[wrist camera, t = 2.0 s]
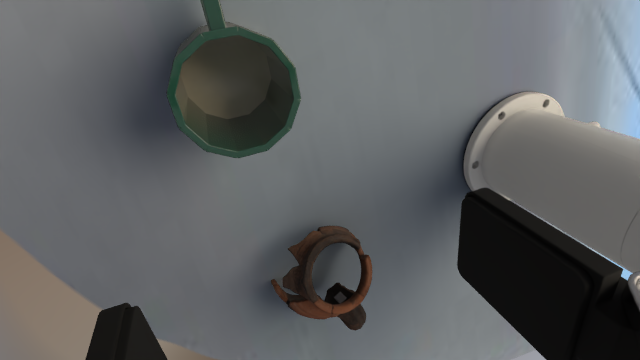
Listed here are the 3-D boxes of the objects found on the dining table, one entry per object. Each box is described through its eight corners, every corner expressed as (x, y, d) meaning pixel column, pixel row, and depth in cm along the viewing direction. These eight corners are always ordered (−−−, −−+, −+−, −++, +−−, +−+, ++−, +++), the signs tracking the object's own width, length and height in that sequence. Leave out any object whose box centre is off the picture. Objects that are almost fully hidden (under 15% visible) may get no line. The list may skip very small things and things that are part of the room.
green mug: (282, 109, 30) (308, 140, 23) (193, 130, 28) (193, 170, 21) (253, -30, 25) (275, -44, 18) (145, -13, 23) (124, -21, 16)
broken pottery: (244, 269, 36) (274, 283, 29) (303, 204, 40) (342, 202, 33) (318, 341, 39) (361, 369, 32) (366, 274, 43) (414, 286, 36)
